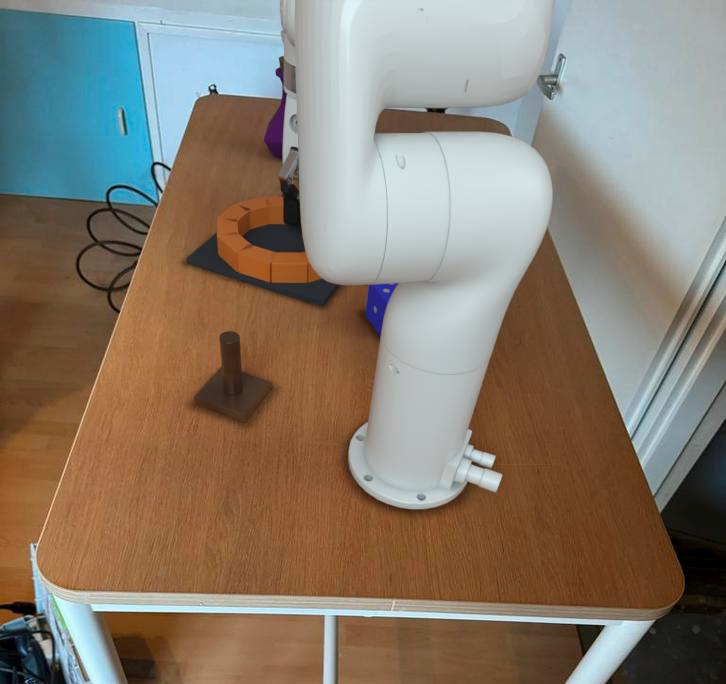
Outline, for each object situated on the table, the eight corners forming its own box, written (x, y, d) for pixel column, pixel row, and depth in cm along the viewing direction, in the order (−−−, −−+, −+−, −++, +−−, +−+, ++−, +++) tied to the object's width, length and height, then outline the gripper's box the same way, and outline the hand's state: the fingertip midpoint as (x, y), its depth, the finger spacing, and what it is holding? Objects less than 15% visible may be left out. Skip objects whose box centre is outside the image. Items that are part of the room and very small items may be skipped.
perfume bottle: (307, 165, 109) (312, 42, 96) (263, 160, 109) (261, 36, 95) (310, 147, 114) (315, 27, 100) (268, 142, 113) (267, 21, 100)
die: (364, 315, 82) (368, 280, 78) (399, 309, 84) (404, 275, 80) (381, 338, 79) (386, 303, 75) (416, 331, 81) (423, 297, 77)
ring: (368, 236, 94) (370, 218, 92) (317, 297, 82) (318, 278, 80) (257, 203, 97) (256, 185, 95) (192, 258, 85) (190, 238, 83)
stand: (271, 389, 71) (270, 330, 65) (245, 423, 67) (241, 362, 61) (223, 373, 72) (218, 312, 66) (194, 405, 68) (186, 344, 62)
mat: (372, 245, 94) (373, 240, 93) (322, 306, 82) (323, 301, 82) (250, 209, 97) (250, 203, 97) (186, 263, 86) (186, 257, 85)
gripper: (312, 106, 74) (307, 244, 87) (366, 67, 85) (355, 195, 98) (254, 91, 75) (257, 229, 88) (315, 54, 86) (310, 182, 99)
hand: (308, 211), depth 93 cm, fingers open, 9 cm apart
